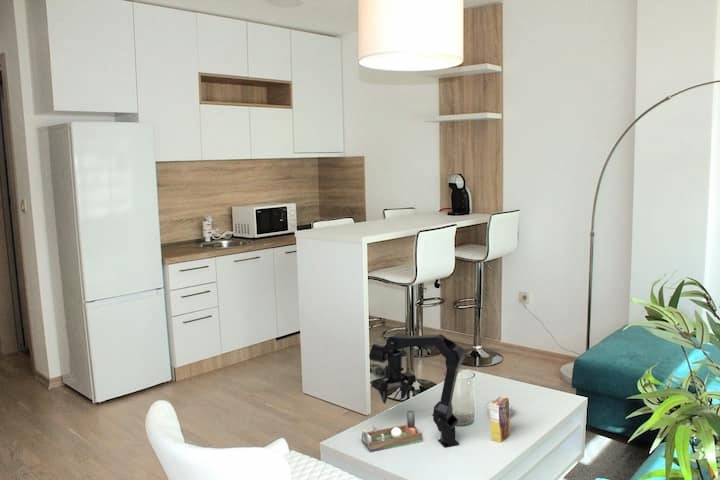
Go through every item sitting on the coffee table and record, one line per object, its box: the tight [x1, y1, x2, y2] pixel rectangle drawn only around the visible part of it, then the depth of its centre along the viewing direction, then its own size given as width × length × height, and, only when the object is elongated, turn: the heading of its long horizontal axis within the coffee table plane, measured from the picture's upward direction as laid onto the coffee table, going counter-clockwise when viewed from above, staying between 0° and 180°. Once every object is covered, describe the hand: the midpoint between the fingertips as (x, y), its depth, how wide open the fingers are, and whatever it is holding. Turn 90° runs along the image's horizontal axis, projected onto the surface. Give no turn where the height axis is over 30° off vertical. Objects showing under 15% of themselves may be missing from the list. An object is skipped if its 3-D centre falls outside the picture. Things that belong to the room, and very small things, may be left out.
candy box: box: [490, 396, 511, 443], centre depth 240 cm, size 9×4×15 cm, turn 140°
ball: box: [391, 426, 402, 438], centre depth 242 cm, size 4×4×4 cm
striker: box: [404, 410, 416, 435], centre depth 244 cm, size 7×3×10 cm, turn 18°
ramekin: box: [485, 399, 513, 419], centre depth 261 cm, size 11×11×5 cm
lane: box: [361, 424, 423, 453], centre depth 242 cm, size 10×22×6 cm, turn 108°
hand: (393, 400), depth 247 cm, fingers open, 9 cm apart
